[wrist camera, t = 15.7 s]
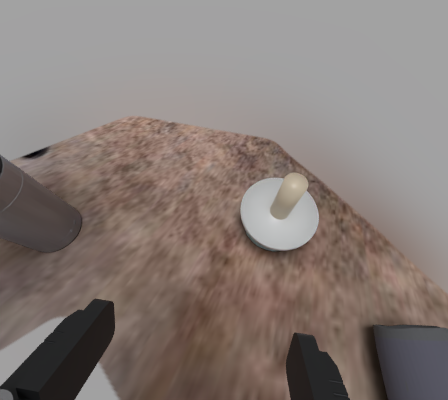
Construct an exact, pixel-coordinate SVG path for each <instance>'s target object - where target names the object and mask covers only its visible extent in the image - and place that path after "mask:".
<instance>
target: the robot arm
mask: <svg viewBox="0 0 448 400" xmlns="http://www.w3.org/2000/svg"><path fill="white" fill-rule="evenodd" d="M80 227H81V216H80V214H79V212H78V211H77V210H76V209H75V208H74V207H72V206H71V205H69V204H68V203H67V202H65V201H64V200H63V199H61V198H60V197H58V196H57V195H56V194H54V193H53V192H51V191H50V190H49V189H47V188H46V187H45V186H43V185H42V184H40V183H39V182H38V181H36V180H35V179H33V178H32V177H31V176H29V175H28V174H27V173H25V172H24V171H22V170H21V169H20V168H18V167H17V166H15V165H14V164H12V163H11V162H10V161H8V160H7V159H5V158H4V157H3V156H1V155H0V238H2V239H5V240H8V241H11V242H14V243H17V244H20V245H22V246H25V247H28V248H31V249H34V250H37V251H40V252H54V251H57V250H60V249H62V248H64V247H65V246H67V245H68V244H69V243H71V242H72V241H73V240H74V238H75V237H76V236H77V234H78V232H79V231H80ZM114 331H115V316H114V303H113V302H112V301H106V300H100V299H94V300H93V301H92V302H91V303H90V304H89V305H88V306H87V307H86V308H85V309H84V311H83V310H77V311H76V312H74V313H73V314H71V315H70V316H68V317H67V318H65V319H64V320H63V321H62V322H61V323H60V324H59V325H58V326H57V327H56V328H55V330H54V332H53V333H51V334H50V335H49V336H48V337H47V338H46V339H45V340H44V342H43V343H41V344H40V345H39V346H38V347H37V349H36V350H35V351H34V352H33V353H32V354H31V355H30V356H29V357H28V358H27V359H26V360H25V361H24V363H22V364H21V366H20V367H19V368H18V369H17V370H16V371H15V372H14V373H13V374H12V375H11V376H10V377H9V378H8V379H7V380H6V381H5V382H4V383H3V384H2V385H1V386H0V400H74V399H75V398H76V396H77V395H78V393H79V392H80V390H81V388H82V387H83V385H84V384H85V382H86V380H87V379H88V377H89V376H90V374H91V372H92V371H93V369H94V368H95V366H96V364H97V363H98V361H99V360H100V358H101V357H102V355H103V353H104V352H105V350H106V349H107V347H108V345H109V344H110V342H111V340H112V338H113V335H114ZM286 373H287V380H288V386H289V392H290V397H291V400H350V398H348V393H347V391H346V388H345V386H344V385H343V380H342V378H341V375H340V373H339V370H338V367H337V365H336V364H335V363H334V361H333V360H332V359H331V357H330V356H329V355H328V353H327V352H321V351H319V349H318V346H317V343H316V340H315V338H314V336H313V335H307V334H301V333H294V334H293V338H292V341H291V345H290V348H289V352H288V355H287V360H286Z"/></svg>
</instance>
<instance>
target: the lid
mask: <svg viewBox="0 0 448 400" xmlns="http://www.w3.org/2000/svg"><path fill="white" fill-rule="evenodd" d="M307 188H308V181H307V179H306V178H305V177H304V176H303V175H301V174H299V173H290V174H288V175H287V176H286V177H285V178H284V179H283V178H268V179H264V180H261V181H259V182H257V183H255V184H254V185H252V186H251V187H250V188H249V189H248V190H247V191H246V193H245V195H244V197H243V199H242V203H241V209H240V215H241V220H242V223H243V226H244V228H245V230H246V231H247V233H248V234H249V235H250V236H251V237H252V238H253V239H254V240H255V241H256V242H257V243H259V244H260V245H262V246H264V247H267V248H269V249H273V250H278V251H287V250H293V249H296V248H298V247H300V246H302V245H304V244H305V243H306V242H307V241H309V240H310V239H311V237H312V236H313V235H314V233H315V232H316V229H317V226H318V221H319V214H318V209H317V206H316V203H315V201H314V200H313V198H312V196H311V195H310V194H309V193H308V192H307V191H306V190H307Z"/></svg>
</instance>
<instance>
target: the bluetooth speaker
mask: <svg viewBox="0 0 448 400" xmlns="http://www.w3.org/2000/svg"><path fill="white" fill-rule="evenodd" d="M373 328H374V335H375V342H376V348H377V352H378V357H379V362H380V366H381V371H382V376H383V380H384V384H385V389H386V393H387V397H388V400H448V329H447V328H440V327H437V326H422V325H396V326H383V325H373Z"/></svg>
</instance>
